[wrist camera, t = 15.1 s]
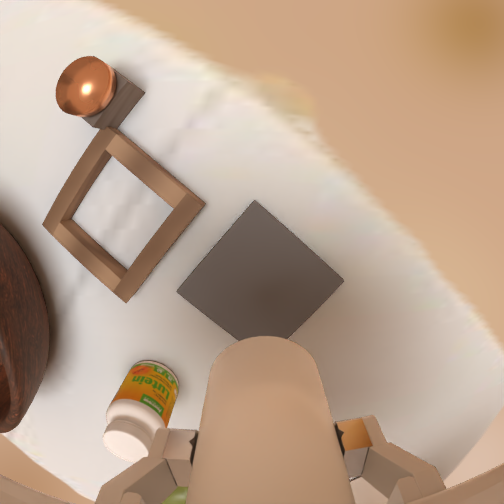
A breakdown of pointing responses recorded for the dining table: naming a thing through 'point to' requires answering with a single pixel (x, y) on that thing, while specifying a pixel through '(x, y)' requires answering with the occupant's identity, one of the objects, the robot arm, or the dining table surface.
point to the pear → (177, 496)
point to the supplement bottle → (140, 410)
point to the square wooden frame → (142, 167)
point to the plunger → (85, 87)
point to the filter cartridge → (267, 431)
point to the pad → (259, 279)
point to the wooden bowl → (20, 333)
